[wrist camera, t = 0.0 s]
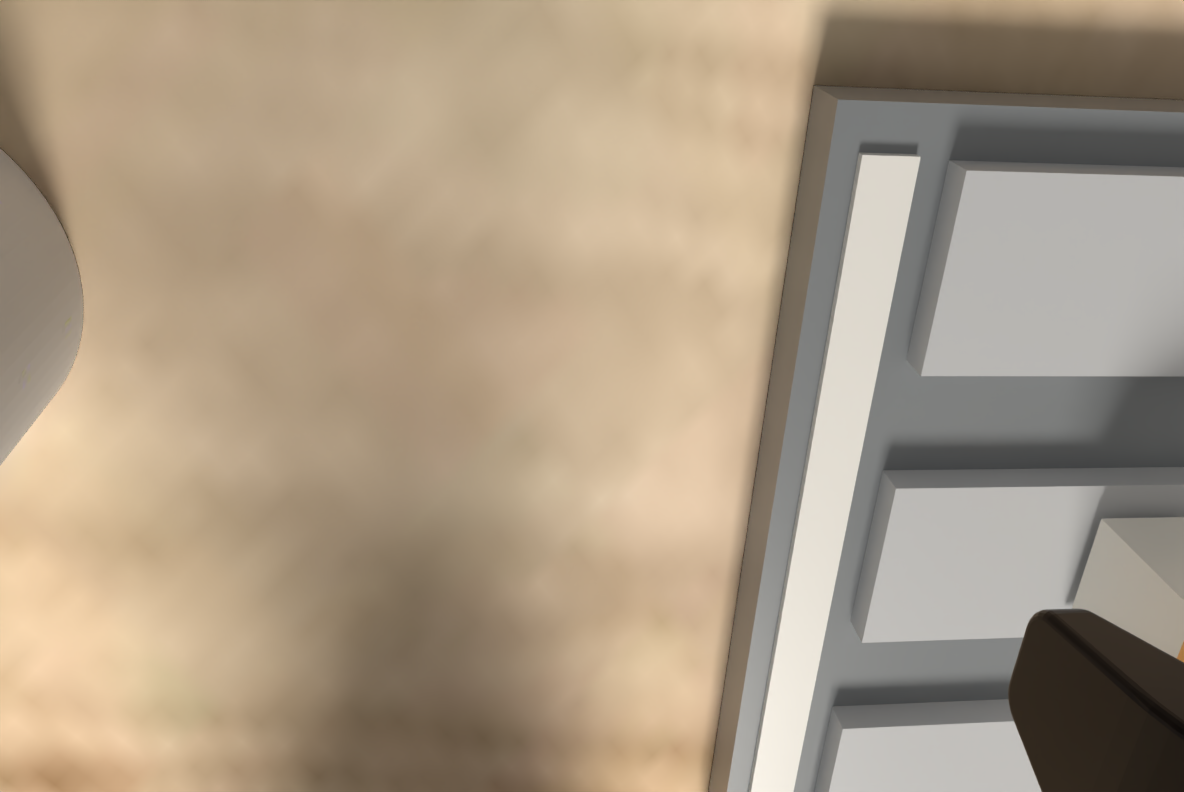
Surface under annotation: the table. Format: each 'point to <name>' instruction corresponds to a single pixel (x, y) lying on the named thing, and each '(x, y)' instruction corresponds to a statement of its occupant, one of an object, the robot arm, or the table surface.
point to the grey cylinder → (33, 304)
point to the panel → (949, 424)
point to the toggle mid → (1138, 579)
